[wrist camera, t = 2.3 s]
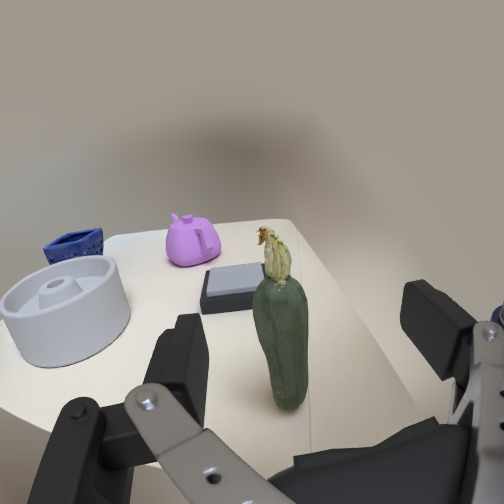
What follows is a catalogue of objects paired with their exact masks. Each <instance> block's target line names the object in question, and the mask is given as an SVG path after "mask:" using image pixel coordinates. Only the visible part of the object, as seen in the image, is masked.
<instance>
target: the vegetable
mask: <svg viewBox="0 0 504 504" xmlns="http://www.w3.org/2000/svg"><path fill="white" fill-rule="evenodd" d="M259 231H260V235H259V243H258V245H261V244H262V243H263V242H264V240H265V241H266V245H265V250H264V254H265V272H266V274H267V275H269V276H268V277H266V278H264V279H263V280H262V281H261V282H260V284H259V285H258V287H257V289H256V291H255V294H254V297H253V317H254V322H255V327H256V331H257V334H258V338H259V341H260V344H261V346H262V349H263V351H264V353H265V356H266V359H267V363H268V367H269V372H270V380H271V386H272V391H273V397H274V399H275V401H276V403H277V405H278V406H279V407H282V408H284V409H296V408H297V407H298V406H299V405H300V404H301V403H302V402H303V401H304V399H305V396H306V392H307V387H308V304H307V298H306V295H305V292H304V290H303V288H302V286H301V285H300V283H299V282H298V281H297V280H295V279H294V278H292V277H291V275H290V267H291V256H290V252H289V250H288V248H287V247H286V245H284V244H283V241H281V240H280V239H279V238H278V236H277V235H276V234H275V233H274V231H273V230H272V229H270V228H267V227H263V226H262V227H260V229H259ZM256 232H257V231H256ZM263 238H264V239H263Z"/></svg>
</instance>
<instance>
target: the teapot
mask: <svg viewBox="0 0 504 504" xmlns="http://www.w3.org/2000/svg"><path fill="white" fill-rule="evenodd" d="M171 215H172V218H173V223H174V224H172V225H170V227H169V229H168V233H167V238H166V253H167V256H168V257H169V258H170V260H171V261H173V262H174V263H175V264H177V265H179V266H191V265H196V264H199V263H203V262H206V261H208V260H210V259H212V258H214V257H216V256H217V255H218V254H219V252H220V249H221V242H220V239H219V236H218V234H217V232H216V230H215V229H214V227H213V226H212V224H211V223H210V222H209V220H207V219H204V218H193V215H186V216H183V217H182V219H183V221H179V218H178V217H177V215H176V214H171Z"/></svg>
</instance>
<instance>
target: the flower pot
mask: <svg viewBox="0 0 504 504" xmlns="http://www.w3.org/2000/svg"><path fill="white" fill-rule="evenodd" d="M92 245H93V246H92ZM43 250H44V253H45V255H46V258H47V260H48V262H49V264H50V265H53V264H55V263H58V262H61V261H65V260H68V259H72V258H77V257H82V256H91V255H102V256H103V232H102V229H101V228H95V229H89V230H83V231H77V232H73V233H68V234H65V235H63V236H61V237H60V238H58V239H56V240H55V241H53V242H51V243H50V244H48V245H47V246H46V247H44V248H43ZM57 259H58V260H57Z"/></svg>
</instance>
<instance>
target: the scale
mask: <svg viewBox="0 0 504 504" xmlns="http://www.w3.org/2000/svg"><path fill="white" fill-rule="evenodd" d="M268 276H269V275H267V274H266V272H265V263H263V264H261V262H257V263H249V264H242V265H234V266H226V267H218V268H211V269H210V270H208V271H206V274H205V279H204V284H203V289H202V294H201V298H200V306H201V310H202V314H203V315H204V314H213V313H222V312H231V311H239V310H247V309H253V297H254V294H255V291H256V289H257V287H258V285H259V284H260V282H261V281H262V280H263V279H264V278H266V277H268Z"/></svg>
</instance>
